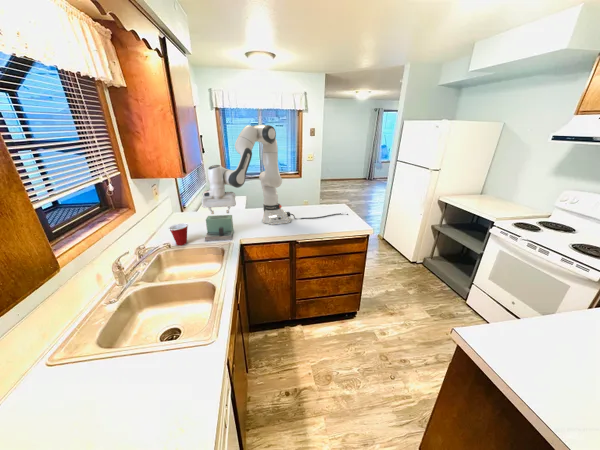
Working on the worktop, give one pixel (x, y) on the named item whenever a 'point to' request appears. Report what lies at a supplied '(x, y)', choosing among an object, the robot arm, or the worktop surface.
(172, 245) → the worktop surface
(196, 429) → the worktop surface
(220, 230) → the slider
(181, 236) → the plastic cup
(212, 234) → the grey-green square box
